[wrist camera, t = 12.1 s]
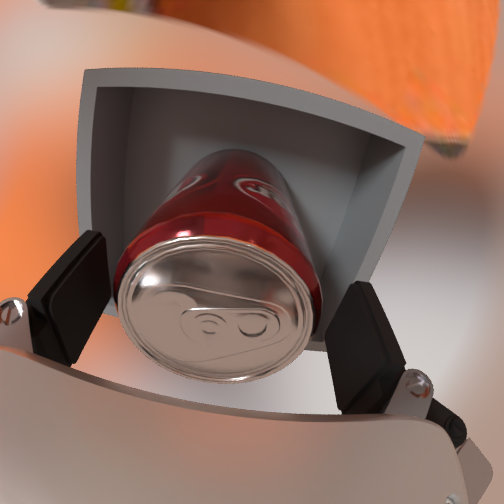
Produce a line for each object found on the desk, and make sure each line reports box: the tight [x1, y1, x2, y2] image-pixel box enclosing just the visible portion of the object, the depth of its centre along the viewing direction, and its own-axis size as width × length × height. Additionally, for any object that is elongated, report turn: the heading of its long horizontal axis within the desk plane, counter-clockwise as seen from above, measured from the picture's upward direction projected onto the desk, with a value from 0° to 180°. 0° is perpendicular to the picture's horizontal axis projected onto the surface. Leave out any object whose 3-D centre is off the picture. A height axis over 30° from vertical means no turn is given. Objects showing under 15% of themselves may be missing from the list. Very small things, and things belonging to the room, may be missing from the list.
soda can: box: [113, 149, 323, 384], centre depth 14 cm, size 7×7×12 cm
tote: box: [76, 68, 425, 352], centre depth 18 cm, size 18×16×6 cm
